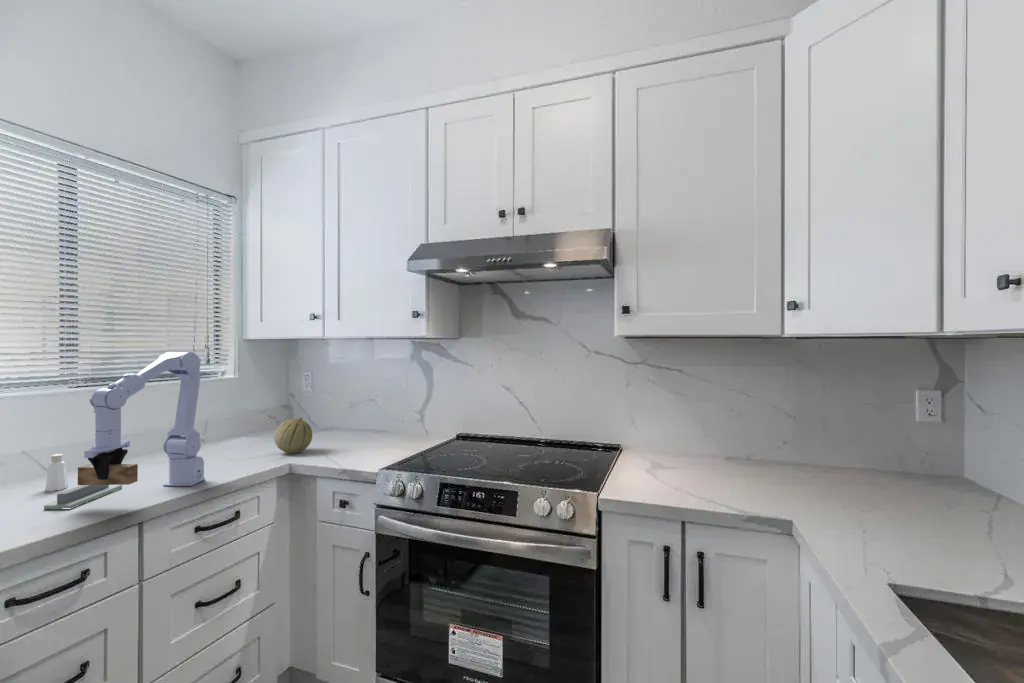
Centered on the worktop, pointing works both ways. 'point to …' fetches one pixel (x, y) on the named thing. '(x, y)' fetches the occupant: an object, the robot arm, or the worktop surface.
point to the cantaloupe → (293, 436)
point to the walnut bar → (109, 475)
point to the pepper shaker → (56, 474)
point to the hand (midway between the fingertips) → (108, 477)
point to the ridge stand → (80, 495)
